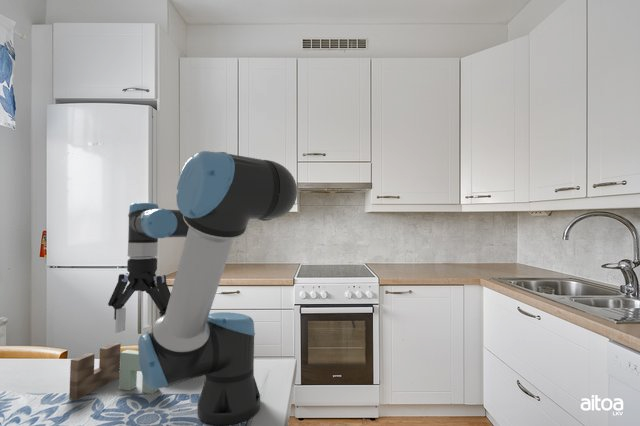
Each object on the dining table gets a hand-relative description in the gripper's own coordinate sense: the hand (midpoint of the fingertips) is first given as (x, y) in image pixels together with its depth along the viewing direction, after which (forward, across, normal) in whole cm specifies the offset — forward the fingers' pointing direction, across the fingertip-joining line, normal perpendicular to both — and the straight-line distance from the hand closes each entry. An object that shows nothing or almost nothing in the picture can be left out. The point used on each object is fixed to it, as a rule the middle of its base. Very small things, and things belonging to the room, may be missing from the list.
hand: (140, 333), depth 97 cm
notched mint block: (+15, 0, 0) cm, 15 cm away
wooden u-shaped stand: (+15, +12, +2) cm, 20 cm away
